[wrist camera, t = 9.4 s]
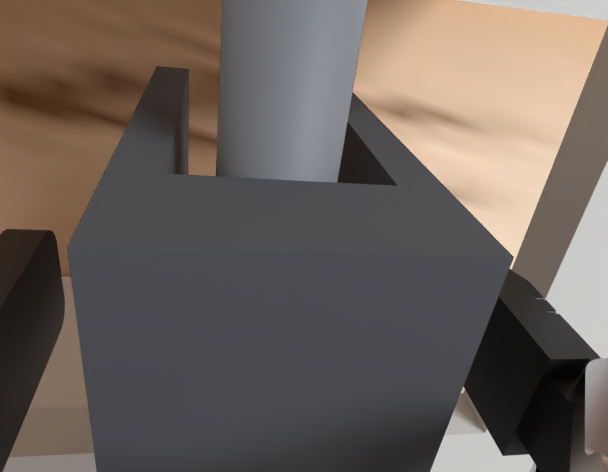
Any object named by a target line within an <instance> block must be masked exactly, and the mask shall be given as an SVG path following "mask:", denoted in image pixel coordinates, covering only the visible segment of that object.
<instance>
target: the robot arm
mask: <svg viewBox="0 0 608 472" xmlns="http://www.w3.org/2000/svg"><path fill="white" fill-rule="evenodd" d="M64 313H65V298H64V290H63V283H62V276H61V269H60V262H59V255H58V248H57V242H56V238H55V235H54V233H53V232H52V231H50V230H21V229H6V230H4V231H3V232H2V234H1V235H0V472H3V470H4V468H5V465H6V463H7V460H8V458H9V455H10V453H11V451H12V448H13V446H14V443H15V441H16V438H17V436H18V434H19V431H20V429H21V426H22V424H23V421H24V419H25V417H26V414H27V412H28V409H29V407H30V404H31V402H32V400H33V397H34V395H35V392H36V390H37V387H38V385H39V383H40V380H41V378H42V375H43V373H44V370H45V368H46V366H47V363H48V361H49V358H50V356H51V354H52V351H53V349H54V346H55V344H56V341H57V339H58V337H59V334H60V332H61V329H62V325H63V321H64ZM463 387H464V388H465V390H466V392H467V394H468V395H469V397H470V399H471V401H472V403H473V404H474V406H475V408H476V410H477V411H478V413H479V415H480V417H481V418H482V420H483V422H484V424H485V426H486V427H487V429H488V431H489V433H490V434H491V436H492V438H493V440H494V441H495V443H496V445H497V447H498V449H499V450H500V452H501V454H502V456H510V455H526V454H529V455H530V456H531V458H532V460H533V461H534V463H533V465H532V467H531V469H530V471H529V472H608V358H601V357H600V356H599V355H598V354H597V353H596V352H595V351H594V350H593V349H592V348H591V347H590V346H589V345H588V344H587V343H586V341H585V340H584V339H583V338H582V337H581V336H580V335H579V334H578V333H577V332H576V331H575V330H574V329H573V328H572V327H571V326H570V325H569V323H568V322H567V321H566V320H565V319H564V318H563V317H562V316H561V315H560V314H556V310H555V309H554V308H553V306H552V305H551V304H550V303H549V302H548V301H547V300H543V296H542V295H541V294H540V293H539V292H538V291H537V290H536V288H535V287H534V286H533V285H532V284H531V283H530V282H529V281H528V280H526V279H525V278H523V277H521V276H520V275H518V274H517V273H515V272H514V271H512V270H511V269H509V271H508V273H507V276H506V278H505V281H504V283H503V286H502V289H501V291H500V294H499V296H498V299H497V301H496V304H495V307H494V309H493V312H492V314H491V317H490V319H489V322H488V325H487V327H486V330H485V332H484V335H483V337H482V340H481V342H480V345H479V348H478V350H477V353H476V355H475V358H474V360H473V363H472V366H471V368H470V371H469V373H468V376H467V378H466V381H465V384H464V386H463Z"/></svg>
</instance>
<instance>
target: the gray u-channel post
mask: <svg viewBox="0 0 608 472" xmlns="http://www.w3.org/2000/svg"><path fill="white" fill-rule="evenodd" d="M188 117H189V69H181V68H170V67H159V66H157V67H156V69H155V71H154V73H153V75H152V77H151V79H150V81H149V83H148V85H147V87H146V89H145V91H144V93H143V95H142V97H141V99H140V101H139V103H138V105H137V107H136V109H135V111H134V114H133V116H132V118H131V120H130V122H129V124H128V126H127V128H126V130H125V132H124V134H123V136H122V138H121V140H120V142H119V144H118V146H117V148H116V150H115V152H114V154H113V156H112V158H111V160H110V162H109V164H108V166H107V168H106V170H105V172H104V174H103V176H102V178H101V180H100V182H99V184H98V186H97V188H96V190H95V192H94V194H93V196H92V198H91V200H90V202H89V204H88V206H87V208H86V210H85V212H84V214H83V216H82V218H81V220H80V222H79V224H78V226H77V228H76V230H75V232H74V234H73V236H72V238H71V240H70V242H69V244H68V246H67V251H68V259H69V266H70V274H71V282H72V289H73V297H74V304H75V312H76V319H77V327H78V335H79V342H80V350H81V357H82V365H83V373H84V380H85V388H86V395H87V403H88V410H89V418H90V426H91V433H92V441H93V448H94V456H95V463H96V471H97V472H430V471H431V468H432V466H433V463H434V460H435V458H436V455H437V453H438V450H439V448H440V445H441V442H442V440H443V437H444V435H445V432H446V430H447V427H448V425H449V422H450V419H451V417H452V414H453V412H454V409H455V407H456V404H457V401H458V399H459V396H460V394H461V391H462V389H463V386H464V384H465V381H466V378H467V376H468V373H469V371H470V368H471V366H472V363H473V360H474V358H475V355H476V353H477V350H478V348H479V345H480V342H481V340H482V337H483V335H484V332H485V330H486V327H487V325H488V322H489V319H490V317H491V314H492V312H493V309H494V307H495V304H496V301H497V299H498V296H499V294H500V291H501V289H502V286H503V283H504V281H505V278H506V276H507V273H508V271H509V268H510V266H511V263H512V260H513V258H514V257H513V256H512V255H511V254H510V253H509V252H508V251H507V250H506V249H505V248H504V247H503V246H502V245H501V244H500V243H499V242H498V241H497V240H496V239H495V238H494V237H493V235H492V234H491V233H490V232H489V231H488V230H487V229H486V228H485V227H484V226H483V225H482V224H481V223H480V222H479V221H478V220H477V219H476V218H475V217H474V216H473V215H472V214H471V213H470V212H469V211H468V210H467V209H466V208H465V207H464V206H463V205H462V204H461V203H460V202H459V201H458V200H457V199H456V198H455V197H454V196H453V195H452V194H451V192H450V191H449V190H448V189H447V188H446V187H445V186H444V185H443V184H442V183H441V182H440V181H439V180H438V179H437V178H436V177H435V176H434V175H433V174H432V173H431V172H430V171H429V170H428V169H427V168H426V167H425V166H424V165H423V164H422V163H421V162H420V161H419V160H418V159H417V158H416V157H415V156H414V155H413V154H412V153H411V152H410V151H409V149H408V148H407V147H406V146H405V145H404V144H403V143H402V142H401V141H400V140H399V139H398V138H397V137H396V136H395V135H394V134H393V133H392V132H391V131H390V130H389V129H388V128H387V127H386V126H385V125H384V124H383V123H382V122H381V121H380V120H379V119H378V118H377V117H376V116H375V115H374V114H373V113H372V112H371V111H370V110H369V109H368V108H367V106H366V105H365V104H364V103H363V102H362V101H361V100H360V99H359V98H358V97H357V96H356V95H355V94H354V93H353V92H352V98H351V103H350V109H349V115H348V121H347V127H346V133H345V139H344V145H343V151H342V157H341V163H340V169H339V175H338V181H337V183H334V182H314V181H295V180H275V179H256V178H236V177H217V176H198V175H188Z"/></svg>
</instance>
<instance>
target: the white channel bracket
mask: <svg viewBox="0 0 608 472" xmlns="http://www.w3.org/2000/svg"><path fill="white" fill-rule="evenodd" d="M460 1H468V2H475V3H483V4H490V5H498V6H505V7H512V8H520V9H527V10H535V11H542V12H550V13H557V14H565V15H572V16H579V17H587V18H594V19H602V20H608V0H460ZM367 3H368V0H222V27H221V53H220V80H219V106H218V133H217V160H216V176H217V177H236V178H256V179H275V180H295V181H314V182H334V183H337V181H338V175H339V169H340V163H341V157H342V151H343V145H344V139H345V133H346V127H347V121H348V115H349V109H350V103H351V98H352V92H353V86H354V80H355V74H356V68H357V62H358V56H359V50H360V44H361V38H362V32H363V26H364V20H365V14H366V9H367ZM512 271H514V272H515V273H517V274H518V275H520V276H521V277H523V278H525V279H526V280H528V281H529V282H530V283H531V284H532V285H533V286H534V287H535V288H536V290H537V291H538V292H539V293H540V294H541V295H542V296H543V300H547V301H548V302H549V303H550V304H551V305H552V306H553V308H554V309H555V310H556V314H560V315H561V316H562V317H563V318H564V319H565V320H566V321H567V322H568V323H569V325H570V326H571V327H572V328H573V329H574V330H575V331H576V332H577V333H578V334H579V335H580V336H581V337H582V338H583V339H584V340H585V341H586V343H587V344H588V345H589V346H590V347H591V348H592V349H593V350H594V351H595V352H596V353H597V354H598V355H599V356H600V357H601V358H608V26H607V29H606V31H605V34H604V37H603V39H602V42H601V44H600V47H599V49H598V52H597V54H596V57H595V59H594V62H593V64H592V67H591V70H590V72H589V75H588V77H587V80H586V82H585V85H584V87H583V90H582V92H581V95H580V98H579V100H578V103H577V105H576V108H575V110H574V113H573V115H572V118H571V120H570V123H569V125H568V128H567V131H566V133H565V136H564V138H563V141H562V143H561V146H560V148H559V151H558V153H557V156H556V158H555V161H554V164H553V166H552V169H551V171H550V174H549V176H548V179H547V181H546V184H545V186H544V189H543V192H542V194H541V197H540V199H539V202H538V204H537V207H536V209H535V212H534V214H533V217H532V219H531V222H530V225H529V227H528V230H527V232H526V235H525V237H524V240H523V242H522V245H521V247H520V250H519V252H518V255H517V258H516V260H515V263H514V265H513V268H512ZM62 283H63V290H64V298H65V313H64V321H63V325H62V329H61V332H60V334H59V337H58V339H57V341H56V344H55V346H54V349H53V351H52V354H51V356H50V358H49V361H48V363H47V366H46V368H45V370H44V373H43V375H42V378H41V380H40V383H39V385H38V387H37V390H36V392H35V395H34V397H33V400H32V402H31V404H30V407H29V409H28V412H27V414H26V417H25V419H24V421H23V424H22V426H21V429H20V431H19V434H18V436H17V438H16V441H15V443H14V446H13V448H12V451H11V453H10V455H9V458H8V460H7V463H6V465H5V468H4V470H3V472H97V471H96V463H95V456H94V448H93V441H92V433H91V426H90V418H89V410H88V403H87V395H86V388H85V380H84V373H83V365H82V357H81V350H80V342H79V335H78V327H77V319H76V312H75V304H74V297H73V289H72V282H71V276H62ZM533 463H534V461H533V460H532V458H531V456H530V455H529V454H526V455H510V456H502V454H501V452H500V450H499V449H498V447H497V445H496V443H495V441H494V440H493V438H492V436H491V434H490V433H489V431H488V429H487V427H486V426H485V424H484V422H483V420H482V418H481V417H480V415H479V413H478V411H477V410H476V408H475V406H474V404H473V403H472V401H471V399H470V397H469V395H468V394H467V392H466V390H465V388H464V387H463V389H462V391H461V394H460V396H459V399H458V401H457V404H456V407H455V409H454V412H453V414H452V417H451V419H450V422H449V425H448V427H447V430H446V432H445V435H444V437H443V440H442V442H441V445H440V448H439V450H438V453H437V455H436V458H435V460H434V463H433V466H432V468H431V471H430V472H529V471H530V469H531V467H532V465H533Z"/></svg>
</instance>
